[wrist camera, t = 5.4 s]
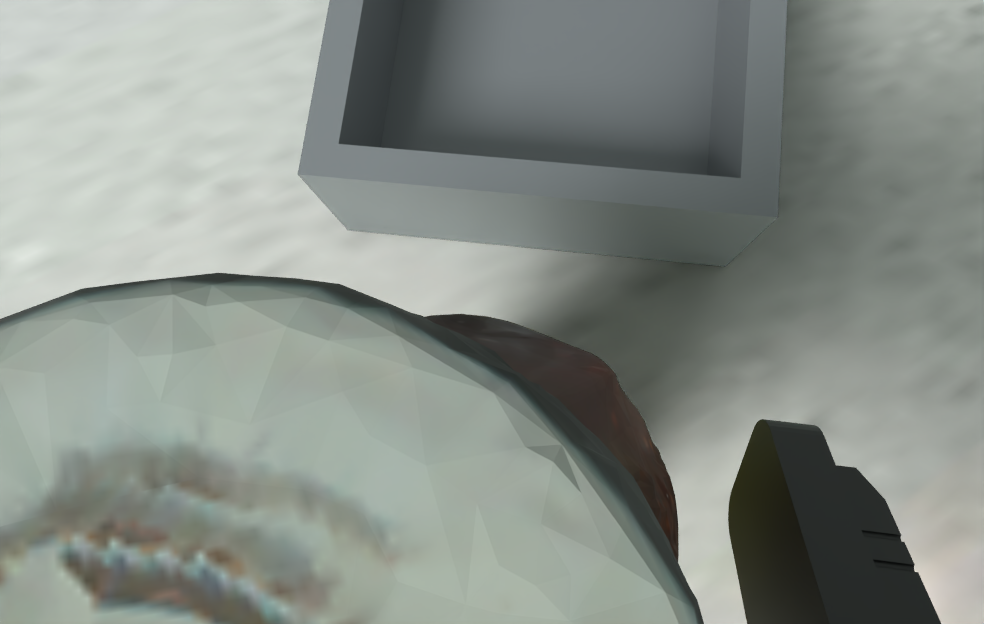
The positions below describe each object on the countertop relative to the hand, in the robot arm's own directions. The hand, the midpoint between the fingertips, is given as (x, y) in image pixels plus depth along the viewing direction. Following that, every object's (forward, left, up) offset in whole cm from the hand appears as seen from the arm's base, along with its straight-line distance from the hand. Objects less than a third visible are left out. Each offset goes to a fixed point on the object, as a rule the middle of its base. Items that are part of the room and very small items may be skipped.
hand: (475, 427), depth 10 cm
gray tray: (0, -13, -12) cm, 18 cm away
